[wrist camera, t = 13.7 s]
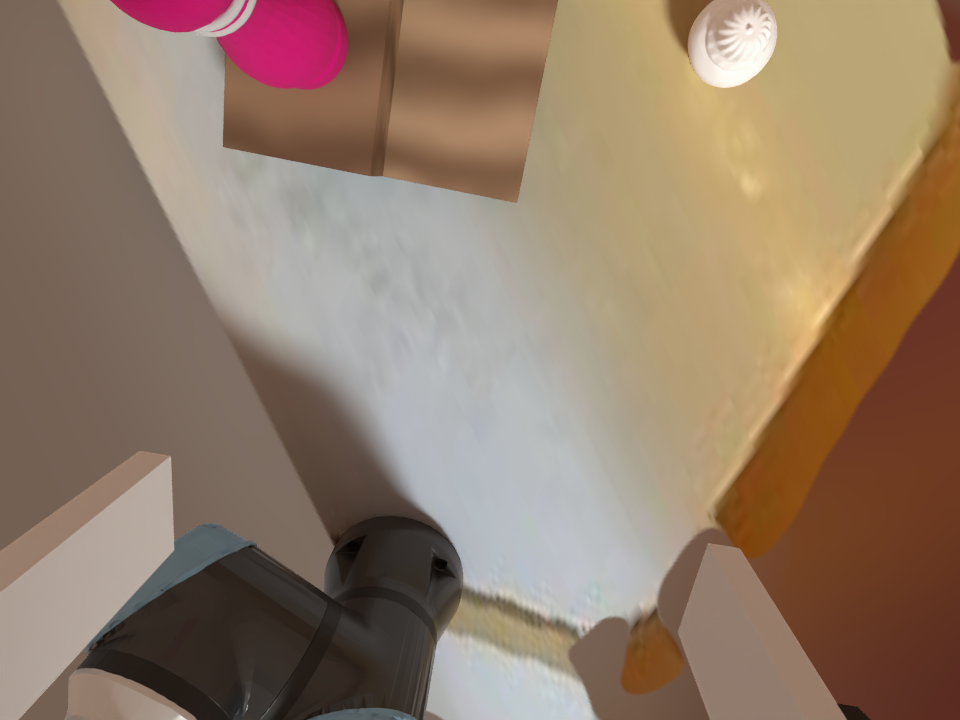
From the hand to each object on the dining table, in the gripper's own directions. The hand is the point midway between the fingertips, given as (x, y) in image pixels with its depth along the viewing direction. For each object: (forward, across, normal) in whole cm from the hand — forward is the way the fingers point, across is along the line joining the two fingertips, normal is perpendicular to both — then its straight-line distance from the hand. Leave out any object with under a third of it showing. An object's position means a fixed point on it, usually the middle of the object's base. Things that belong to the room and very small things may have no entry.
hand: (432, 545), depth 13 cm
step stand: (+38, +10, -16) cm, 42 cm away
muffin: (+38, -15, -21) cm, 46 cm away
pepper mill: (+30, +15, -16) cm, 37 cm away
